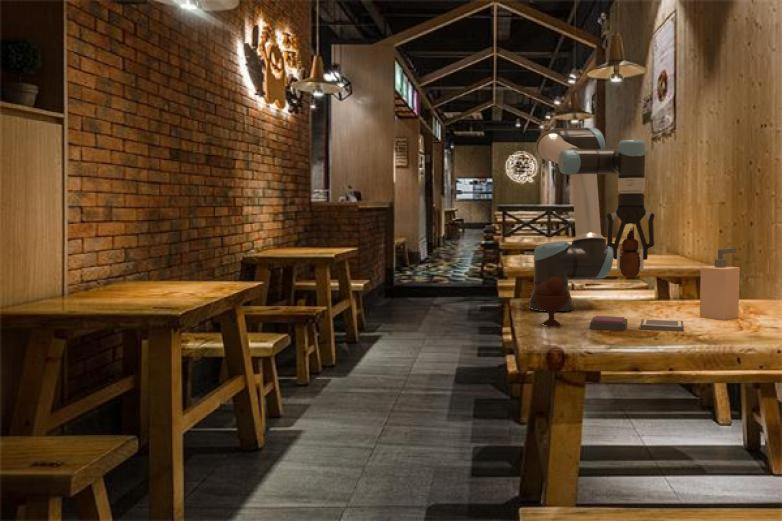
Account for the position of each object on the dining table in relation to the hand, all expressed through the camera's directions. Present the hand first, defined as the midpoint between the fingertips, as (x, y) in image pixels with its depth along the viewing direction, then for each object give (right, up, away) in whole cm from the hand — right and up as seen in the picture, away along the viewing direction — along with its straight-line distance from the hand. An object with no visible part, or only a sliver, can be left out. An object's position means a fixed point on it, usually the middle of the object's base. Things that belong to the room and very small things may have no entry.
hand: (630, 270), depth 228 cm
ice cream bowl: (-22, -17, +7) cm, 29 cm away
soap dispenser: (+36, -15, +20) cm, 44 cm away
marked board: (+10, -17, +2) cm, 20 cm away
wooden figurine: (0, -2, 0) cm, 2 cm away
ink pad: (-6, -17, +2) cm, 18 cm away
